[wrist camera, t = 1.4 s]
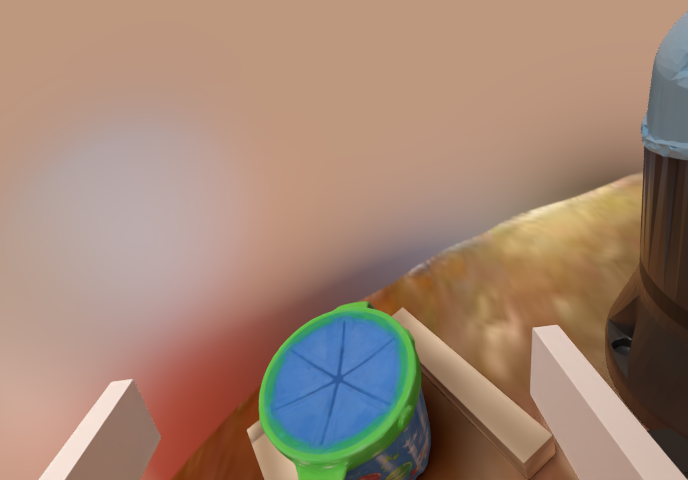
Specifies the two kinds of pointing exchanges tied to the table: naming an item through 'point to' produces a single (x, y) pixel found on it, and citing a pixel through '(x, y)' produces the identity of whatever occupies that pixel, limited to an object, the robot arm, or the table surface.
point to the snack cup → (348, 398)
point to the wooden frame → (465, 393)
